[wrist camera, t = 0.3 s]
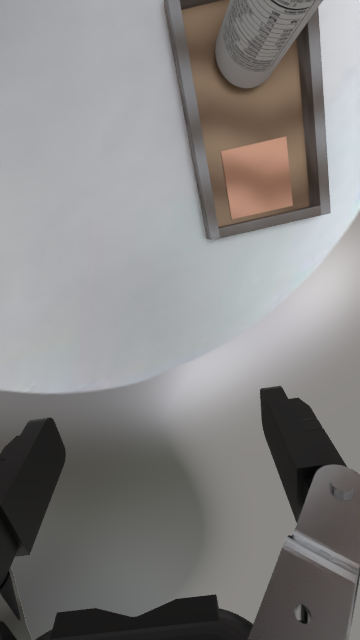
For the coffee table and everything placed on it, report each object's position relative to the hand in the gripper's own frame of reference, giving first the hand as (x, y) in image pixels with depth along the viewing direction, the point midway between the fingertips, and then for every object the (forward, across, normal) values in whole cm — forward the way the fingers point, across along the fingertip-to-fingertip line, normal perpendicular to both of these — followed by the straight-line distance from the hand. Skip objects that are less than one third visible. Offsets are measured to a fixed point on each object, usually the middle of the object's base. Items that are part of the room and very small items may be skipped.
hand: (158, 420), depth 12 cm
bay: (+29, -11, -13) cm, 34 cm away
